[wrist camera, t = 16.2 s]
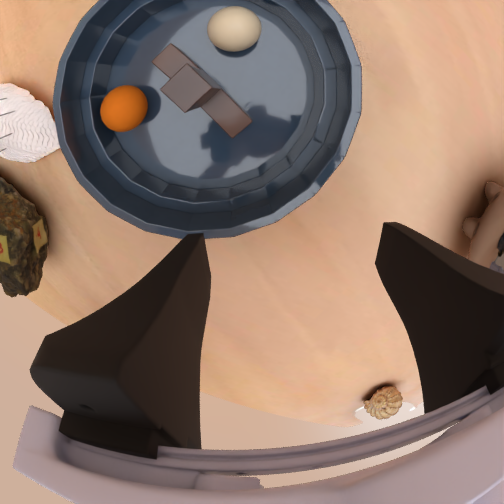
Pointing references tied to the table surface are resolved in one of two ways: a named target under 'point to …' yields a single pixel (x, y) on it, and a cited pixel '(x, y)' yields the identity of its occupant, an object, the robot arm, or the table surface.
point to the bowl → (200, 123)
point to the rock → (20, 242)
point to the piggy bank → (488, 231)
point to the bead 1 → (124, 108)
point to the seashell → (384, 402)
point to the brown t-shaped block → (199, 91)
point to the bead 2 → (234, 28)
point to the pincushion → (25, 126)
